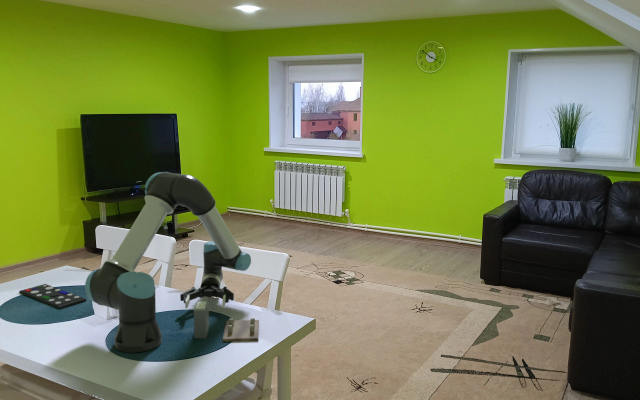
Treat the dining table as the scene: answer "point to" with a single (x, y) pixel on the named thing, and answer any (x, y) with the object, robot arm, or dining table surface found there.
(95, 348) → the dining table surface
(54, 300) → the remote control
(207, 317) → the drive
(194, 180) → the robot arm
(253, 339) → the pin tray
